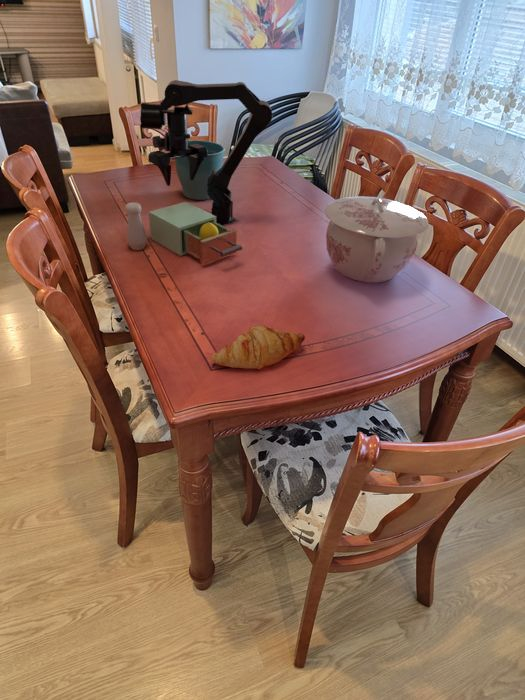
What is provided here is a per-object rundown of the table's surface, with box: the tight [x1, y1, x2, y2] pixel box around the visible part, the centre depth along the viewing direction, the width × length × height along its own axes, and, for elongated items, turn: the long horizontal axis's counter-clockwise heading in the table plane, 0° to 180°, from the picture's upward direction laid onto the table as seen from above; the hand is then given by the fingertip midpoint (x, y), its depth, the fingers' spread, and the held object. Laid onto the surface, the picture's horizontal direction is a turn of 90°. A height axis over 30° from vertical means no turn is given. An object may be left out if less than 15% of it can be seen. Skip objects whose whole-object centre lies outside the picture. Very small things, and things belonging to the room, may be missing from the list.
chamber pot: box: [323, 195, 429, 284], centre depth 127 cm, size 28×28×21 cm
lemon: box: [199, 222, 219, 240], centre depth 132 cm, size 6×6×8 cm
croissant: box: [211, 325, 306, 370], centre depth 98 cm, size 21×10×8 cm, turn 115°
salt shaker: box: [125, 201, 148, 251], centre depth 133 cm, size 6×6×13 cm
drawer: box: [181, 220, 243, 266], centre depth 133 cm, size 19×12×7 cm, turn 45°
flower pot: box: [174, 139, 225, 201], centre depth 169 cm, size 18×18×17 cm
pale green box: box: [148, 201, 216, 257], centre depth 139 cm, size 15×14×9 cm
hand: (180, 182), depth 148 cm, fingers open, 9 cm apart
